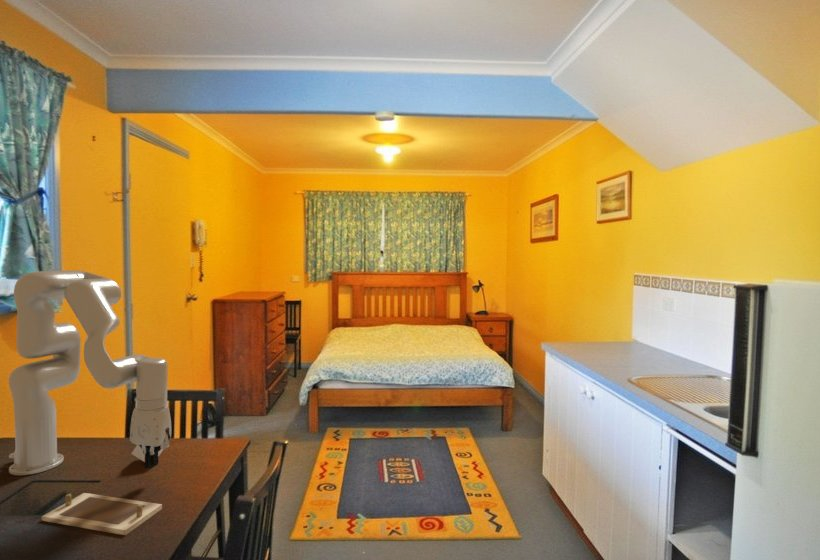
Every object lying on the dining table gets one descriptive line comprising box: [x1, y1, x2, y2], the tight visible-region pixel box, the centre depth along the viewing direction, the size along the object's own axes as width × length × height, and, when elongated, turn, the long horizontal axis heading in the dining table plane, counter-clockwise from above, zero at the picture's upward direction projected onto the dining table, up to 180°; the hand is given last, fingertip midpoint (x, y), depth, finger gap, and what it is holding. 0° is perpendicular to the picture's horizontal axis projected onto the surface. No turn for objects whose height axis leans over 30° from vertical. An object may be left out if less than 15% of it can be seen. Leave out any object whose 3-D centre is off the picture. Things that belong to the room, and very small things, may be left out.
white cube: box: [131, 445, 164, 463], centre depth 137 cm, size 6×6×6 cm
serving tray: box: [41, 492, 163, 536], centre depth 109 cm, size 24×11×4 cm, turn 78°
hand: (151, 466), depth 124 cm, fingers closed
